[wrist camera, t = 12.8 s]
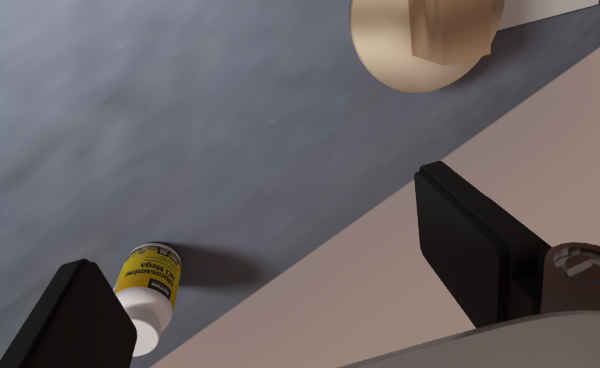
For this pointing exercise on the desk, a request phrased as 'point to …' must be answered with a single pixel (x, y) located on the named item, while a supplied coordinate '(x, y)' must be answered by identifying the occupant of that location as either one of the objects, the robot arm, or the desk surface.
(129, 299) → the pill bottle
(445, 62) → the lid
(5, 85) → the desk surface
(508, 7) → the mat
